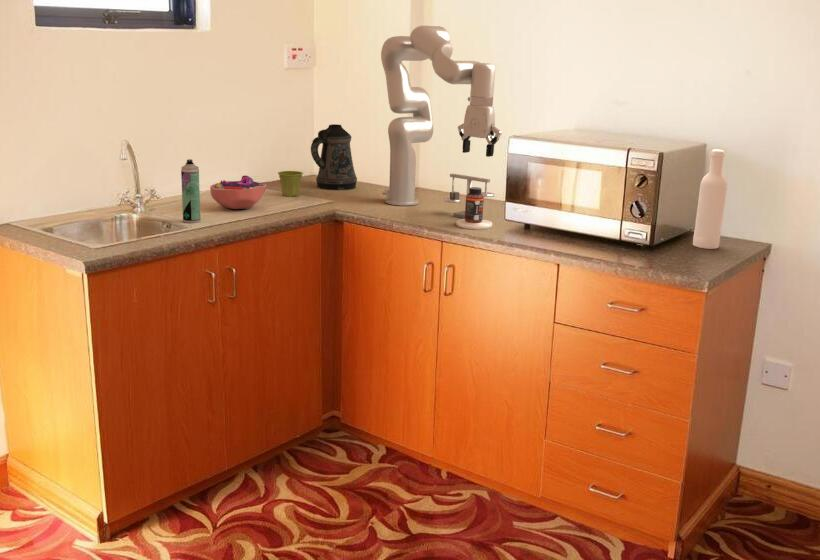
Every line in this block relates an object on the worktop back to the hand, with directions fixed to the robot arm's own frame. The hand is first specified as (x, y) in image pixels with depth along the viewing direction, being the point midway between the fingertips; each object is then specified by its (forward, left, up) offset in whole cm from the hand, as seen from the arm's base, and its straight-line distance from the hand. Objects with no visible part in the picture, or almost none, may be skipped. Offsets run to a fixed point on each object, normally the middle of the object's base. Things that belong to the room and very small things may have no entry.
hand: (477, 154), depth 287 cm
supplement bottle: (+3, -4, -22) cm, 23 cm away
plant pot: (-77, -13, -23) cm, 81 cm away
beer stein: (-79, +13, -23) cm, 83 cm away
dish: (+3, -4, -23) cm, 24 cm away
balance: (-7, +6, -23) cm, 25 cm away
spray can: (-63, -69, -23) cm, 96 cm away
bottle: (+70, +27, -23) cm, 79 cm away
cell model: (-70, -44, -23) cm, 86 cm away
